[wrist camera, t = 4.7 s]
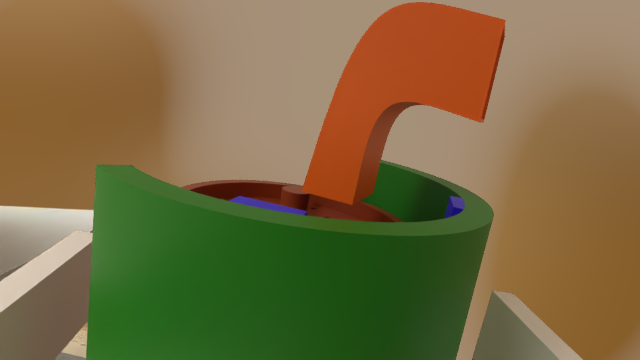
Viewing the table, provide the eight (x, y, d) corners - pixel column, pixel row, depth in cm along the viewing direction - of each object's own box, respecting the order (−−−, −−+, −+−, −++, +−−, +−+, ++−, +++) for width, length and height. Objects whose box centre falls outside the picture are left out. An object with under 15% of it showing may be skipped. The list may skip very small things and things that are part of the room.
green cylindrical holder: (205, 445, 20) (268, 21, 16) (385, 515, 19) (507, 59, 14) (6, 756, 11) (34, -112, 6) (345, 965, 9) (690, -46, 5)
